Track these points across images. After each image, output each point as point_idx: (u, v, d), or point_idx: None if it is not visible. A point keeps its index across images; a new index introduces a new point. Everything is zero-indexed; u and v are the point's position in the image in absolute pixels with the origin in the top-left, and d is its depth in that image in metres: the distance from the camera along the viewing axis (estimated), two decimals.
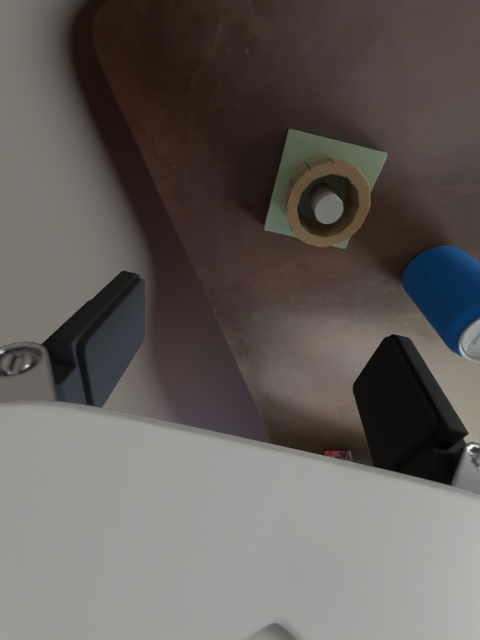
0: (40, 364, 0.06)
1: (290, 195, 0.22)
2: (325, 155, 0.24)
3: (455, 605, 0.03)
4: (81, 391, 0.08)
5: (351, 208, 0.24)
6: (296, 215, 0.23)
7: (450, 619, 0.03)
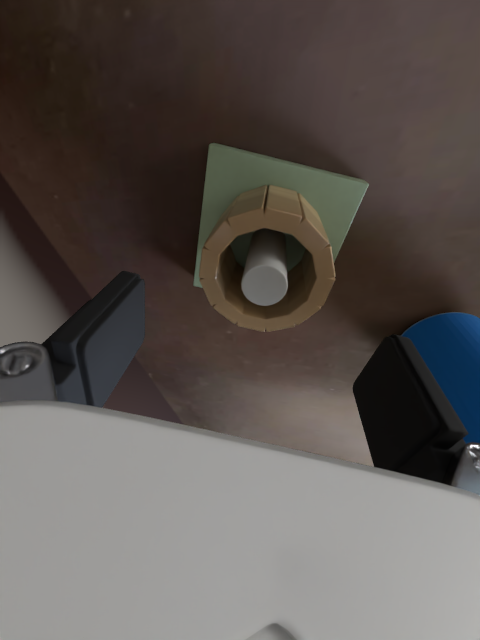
0: (40, 364, 0.06)
1: (202, 259, 0.13)
2: (269, 186, 0.15)
3: (454, 605, 0.03)
4: (81, 391, 0.08)
5: (309, 272, 0.15)
6: (217, 287, 0.14)
7: (449, 619, 0.03)
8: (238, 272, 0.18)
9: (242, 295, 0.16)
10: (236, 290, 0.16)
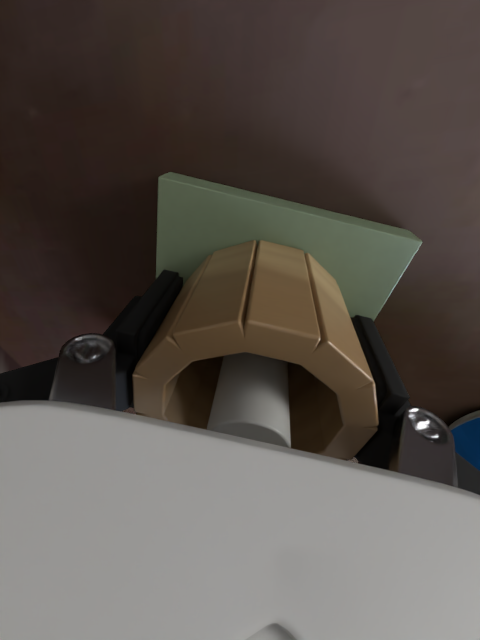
0: (110, 353, 0.07)
1: (135, 388, 0.07)
2: (258, 244, 0.09)
3: (454, 605, 0.03)
4: None
5: (325, 389, 0.09)
6: None
7: (449, 619, 0.03)
8: (214, 362, 0.12)
9: None
10: (207, 405, 0.10)
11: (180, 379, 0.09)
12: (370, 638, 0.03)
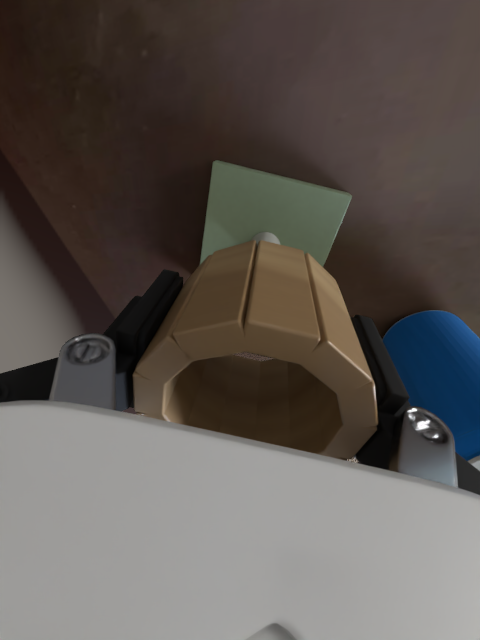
0: (110, 353, 0.07)
1: (135, 388, 0.07)
2: (258, 244, 0.09)
3: (454, 605, 0.03)
4: None
5: (325, 389, 0.09)
6: None
7: (449, 619, 0.03)
8: (214, 362, 0.12)
9: (217, 411, 0.10)
10: (207, 405, 0.10)
11: (180, 379, 0.09)
12: (370, 638, 0.03)
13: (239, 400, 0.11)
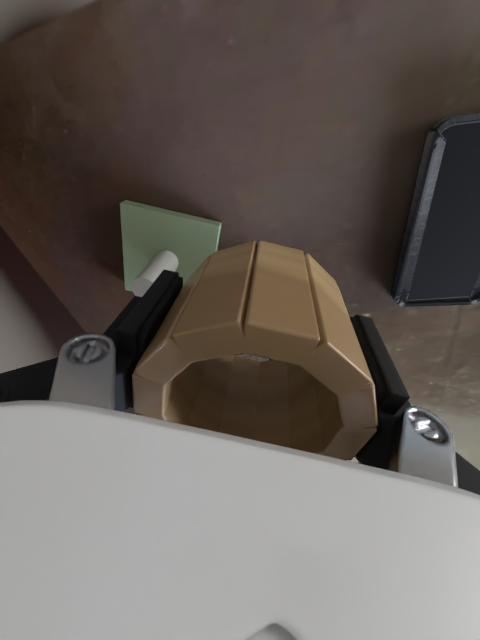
0: (110, 353, 0.07)
1: (134, 389, 0.07)
2: (258, 245, 0.09)
3: (454, 605, 0.03)
4: None
5: (325, 390, 0.09)
6: None
7: (449, 619, 0.03)
8: (214, 363, 0.12)
9: (217, 412, 0.10)
10: (207, 405, 0.10)
11: (180, 380, 0.09)
12: (370, 638, 0.03)
13: (239, 401, 0.11)
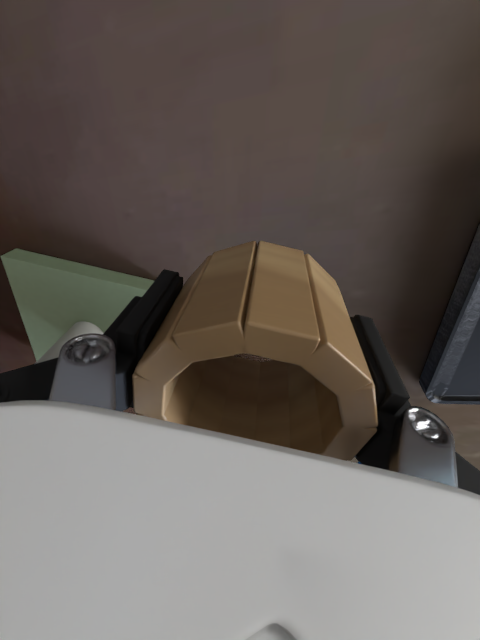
0: (110, 353, 0.07)
1: (135, 389, 0.07)
2: (258, 245, 0.09)
3: (454, 605, 0.03)
4: None
5: (325, 390, 0.09)
6: None
7: (449, 619, 0.03)
8: (214, 363, 0.12)
9: (217, 412, 0.10)
10: (207, 406, 0.10)
11: (180, 380, 0.09)
12: (370, 638, 0.03)
13: (239, 401, 0.11)
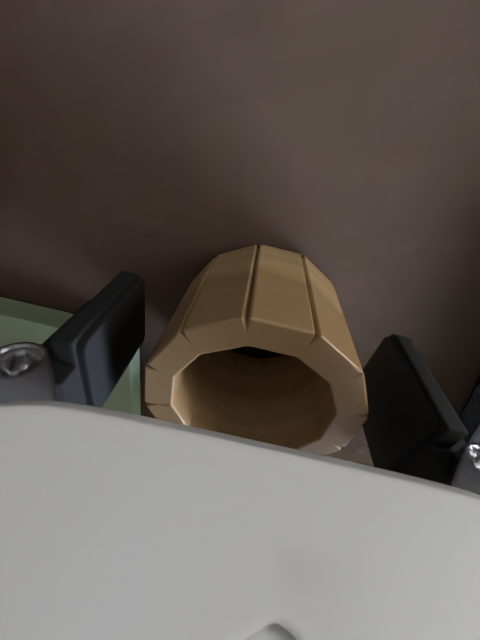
0: (40, 364, 0.06)
1: (146, 380, 0.08)
2: (259, 249, 0.10)
3: (454, 605, 0.03)
4: (81, 391, 0.08)
5: (321, 383, 0.10)
6: (175, 416, 0.09)
7: (449, 619, 0.03)
8: (217, 359, 0.12)
9: (220, 404, 0.11)
10: (211, 398, 0.11)
11: (186, 373, 0.10)
12: (370, 638, 0.03)
13: (241, 395, 0.12)
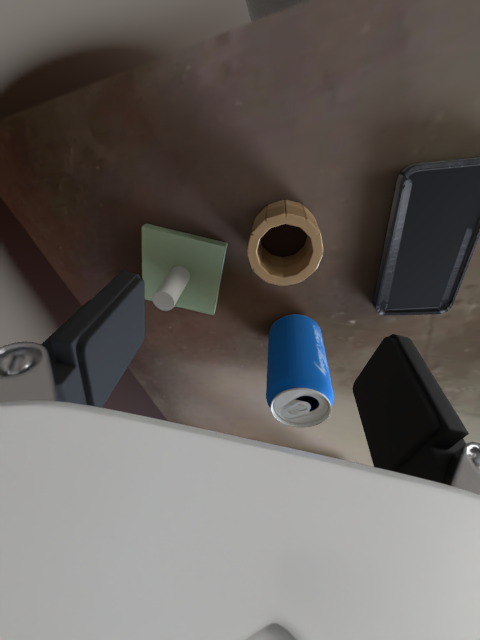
0: (40, 364, 0.06)
1: (249, 241, 0.24)
2: (285, 200, 0.26)
3: (455, 605, 0.03)
4: (81, 392, 0.07)
5: (309, 250, 0.26)
6: (256, 258, 0.25)
7: (450, 619, 0.03)
8: (264, 253, 0.29)
9: (268, 265, 0.27)
10: (265, 262, 0.27)
11: (257, 248, 0.26)
12: (370, 638, 0.03)
13: (276, 265, 0.28)
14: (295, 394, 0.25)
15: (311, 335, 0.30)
